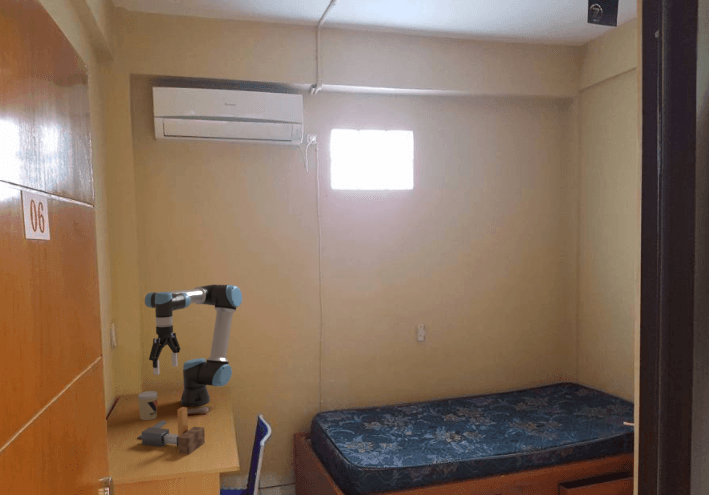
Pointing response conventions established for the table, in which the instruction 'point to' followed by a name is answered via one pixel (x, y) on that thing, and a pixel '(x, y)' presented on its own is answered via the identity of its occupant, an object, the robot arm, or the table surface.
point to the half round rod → (156, 427)
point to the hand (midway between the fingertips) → (165, 370)
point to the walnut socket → (191, 440)
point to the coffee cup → (148, 405)
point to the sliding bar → (182, 428)
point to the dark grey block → (153, 436)
